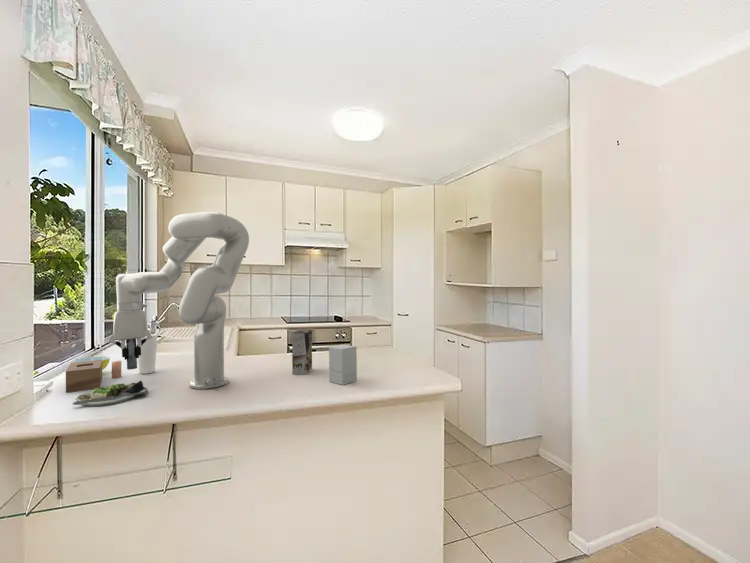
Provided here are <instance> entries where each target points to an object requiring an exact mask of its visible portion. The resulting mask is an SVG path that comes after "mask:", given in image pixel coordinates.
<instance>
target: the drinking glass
mask: <svg viewBox="0 0 750 563" xmlns="http://www.w3.org/2000/svg"><path fill="white" fill-rule="evenodd" d="M150 334H151V336H152V338H151V339H149V340H148V341H146V342H145V343H144V344H143V345H142V346H141V355H139V358H137V360H138V366H139V368H138V369H139V374H142V375H146V374H147V375H148V374H152V373H154V372H155V371H156V361H157V360H156V359H157V358H156V357H157V349H158V348H157V347H158V336H157V334H156V333H150ZM146 337H147V336H146ZM144 338H145V337H144ZM144 338H141V340H142V339H144Z"/></svg>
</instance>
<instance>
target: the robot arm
mask: <svg viewBox="0 0 750 563" xmlns="http://www.w3.org/2000/svg"><path fill="white" fill-rule="evenodd" d="M168 233H169V234H170V235H171V237H170V238H169V239H168V241H166V242H165V244H164V245H163V246H162V251H163V253H164V255H165V256H166V257H167V262H166V263H165V265H163V266H162V268H160V270H159V271H158V272H156V271H155V272H153V271H152V272H150V271H148V272H147V271H142V272H141V271H140V272H135V273H119V274H117V275H116V277H115V288H116V309H117V310H116V311H115V312H114V314H113V332H112V334H111V336H110V338H109V339H108V343H110V344H113V345H116V346H118V348H121V358H124V360H126V361H127V348H126V340H127V339H136V356H137V359H138V358H139V355H141V346H142V345H143V344H144V343H145V342H146V341H148V340H149V339H151V338H152V336H151V334H152V333H150V331H149V330H148V323H147V317H146V316H147V315H146V311H145V310H143V309H144V308H147V307H148V306H147V305H148V304H147V303H145V302H144V303H143V296H142V295H143V294H152V293H153V294H154V293H163V292H166V291H168V290H169V289H170V288H172V286H174V285H175V283H176V282H177V281H178V280H179V279H180V278H181V276H182V274H183V272H184V268H185V263H186V260H188V258H189V257H191V256H192V254H193V253H194V252H195V251H196V250H197V248H198V247H200V245H201V244H203V242H204V241H205V240H206V239H207V238H210V239H211V238H213V239H218V240H223V241H224V243H223V244H222V246H221V247H220V248H219V249H218V251H217V253H216V255H215V257H214V260H213V263H212V264H211V265H203V266H200V267H198V268H197V269H195V270H194V271H193V273H192V274H191V276H190V278H189V280H188V283H187V284H186V288H185V289H184V292H183V295H182V297H181V300H180V303H179V306H178V314H179V318H180V319H181V321H183V322H184V323H185V324H188V325H190V326H191V325H195V328H194V329H195V330H194V337H193V339H194V340H193V342H194V343H193V347H194V348H193V350H194V351H193V352H194V354H193V356H194V357H193V358H194V360H193V361H194V364H193V366H194V379H193V380H191V381H190V382H189V387H190V388H191V389H194V390H195V389H196V390H205V389H206V390H209V389H213V388H219V387H223V386H225V385H226V384H229V382H230V380H229V377H226V376H225V348H224V347H225V321H226V316H227V305H226V303H225V301H224V299H223V298H222V297H220V296H218V295H217V294H224V293H228V292H229V291H230V290H231V289H232V287H233V284H234V283H235V279H236V277H237V275H238V272H239V269H240V268H241V265H242V262H243V260H244V257H245V254H246V252H247V251H248V248H249V244H250V236H249V231H248V229H247V228H246V226H245V225H244V224H243V223H242V222H241V221H240V220H238V219H236V218H234V217H231V216H228V215H225V214H223V213H220V212H216V211H204V212H203V211H202V212H191V213H183V214H182V213H181V214H177V215H176V216H174V217H172V218H171V219H170V221H169V223H168ZM146 336H147V337H146ZM144 337H145V338H144ZM141 338H144V339H142V340H141Z"/></svg>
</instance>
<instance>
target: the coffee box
mask: <svg viewBox="0 0 750 563" xmlns="http://www.w3.org/2000/svg"><path fill="white" fill-rule="evenodd" d="M291 336H292V338H291V339H292V340H291V342H292V343H291V344H292V345H291V346H292V347H291V348H292V349H291V350H292V351H291V352H292V353H291V356H292V360H291V362H292V364H291V365H292V367H291V370H292V372H291V374H292V375H308V374H309V373H310V372H311V371H312V369H313V340H312V339H313V330H311V329H308V330H307V329H306V330H303V329H302V330H295V331H294V332H292V335H291Z"/></svg>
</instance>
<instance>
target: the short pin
mask: <svg viewBox="0 0 750 563" xmlns="http://www.w3.org/2000/svg"><path fill="white" fill-rule="evenodd" d="M119 378H122V360H114V361H113V360H112V361H111V379H119Z"/></svg>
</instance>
